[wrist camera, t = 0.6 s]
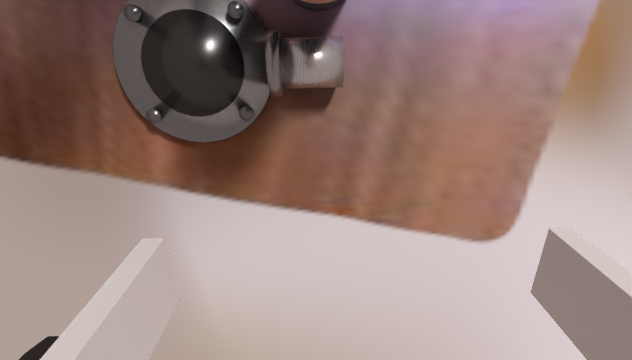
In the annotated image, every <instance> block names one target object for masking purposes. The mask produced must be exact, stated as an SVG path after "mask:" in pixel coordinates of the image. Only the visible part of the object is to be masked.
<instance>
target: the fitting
mask: <svg viewBox="0 0 632 360" xmlns="http://www.w3.org/2000/svg"><path fill="white" fill-rule="evenodd" d="M113 56H114V62H115V68H116V71H117V75H118V78H119V80H120V83H121V85H122V87H123V90H124V91H125V93H126V95H127V97H128V98H129V100H130V101H131V102H132V104H133V105H134V107H135V108H136V109H137V110H138V111H139V112H140V113H141V115H142V116H144V117H145V118H146V119H147V120H148V121H149V122H150V123H152V124H153V125H154V126H156V127H157V128H159V129H160V130H162V131H164V132H166V133H168V134H170V135H172V136H175V137H177V138H181V139H184V140H188V141H194V142H213V141H219V140H223V139H226V138H229V137H231V136H234V135H236V134H237V133H239V132H241V131H242V130H244V129H245V128H246V127H248V126H249V125H250V124H251V123H252V122H253V121H254V120H255V119H256V118H257V116H258V115H259V114H260V112H261V111H262V110H263V108H264V106H265V104H266V103H267V100H268V98H269V95H271V96H272V97H280V96H284V89H297V88H335V87H343V79H344V44H343V37H342V36H330V37H294V38H282V37H281V33H280V30H271V31H267V32H266V31H265V29H264V27H263V25H262V23H261V21H260V20H259V18H258V17H257V16H256V14H255V13H254V11H253V10H252V9H251V8H250V7H249V6H248V5H247V3H246V2H245V1H243V0H128V2H127V3H126V4H125V6H124V8H123V9H122V11H121V13H120V15H119V18H118V21H117V23H116V27H115V32H114V39H113Z"/></svg>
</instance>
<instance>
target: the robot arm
mask: <svg viewBox="0 0 632 360" xmlns="http://www.w3.org/2000/svg"><path fill="white" fill-rule="evenodd" d="M531 293H532V294H533V295H534V297H535V298H536V299H537V300H538V301H539V303H540V304H541V305H542V306H543V307H544V309H545V310H546V311H547V312H548V313H549V315H550V316H551V317H552V318H553V319H554V321H555V322H556V323H557V324H558V325H559V327H560V328H561V329H562V330H563V331H564V333H565V334H566V335H567V336H568V337H569V339H570V340H571V341H572V342H573V343H574V345H575V346H576V347H577V348H578V349H579V350H580V352H581V353H582V354H583V355H584V357H585V358H586V359H587V360H632V273H631V272H630V271H628V270H627V269H625V268H624V267H623V266H622V265H620V264H619V263H618V262H616V261H615V260H614V259H612V258H611V257H610V256H608V255H607V254H606V253H604V252H603V251H602V250H600V249H599V248H598V247H596V246H595V245H594V244H592V243H591V242H590V241H588V240H587V239H586V238H585V237H583V236H582V235H581V234H579V233H578V232H577V231H575V230H574V229H573V228H550V229H549V231H548V234H547V238H546V241H545V245H544V248H543V252H542V255H541V258H540V262H539V265H538V269H537V272H536V276H535V279H534V283H533V286H532V290H531ZM179 301H180V299H179V295H178V291H177V287H176V283H175V279H174V275H173V270H172V266H171V262H170V258H169V254H168V250H167V246H166V242H165V238H150V239H149V238H148V239H142V240H141V241H140V242H139V243H138V245H137V246H136V247H135V248H134V249H133V250H132V252H131V253H130V254H129V255H128V256H127V257H126V259H125V260H124V261H123V262H122V263H121V265H120V266H119V267H118V268H117V269H116V270H115V272H114V273H113V274H112V275H111V276H110V277H109V279H108V280H107V281H106V282H105V283H104V284H103V286H102V287H101V288H100V289H99V290H98V292H97V293H96V294H95V295H94V296H93V297H92V299H91V300H90V301H89V302H88V303H87V305H86V306H85V307H84V308H83V309H82V310H81V312H80V313H79V314H78V315H77V316H76V318H75V319H74V320H73V321H72V323H70V325H69V326H68V327H67V328H66V329H65V331H64V332H63V333H62V334H61V335H60V336H54V337H52V336H51V337H47V338H45V339H44V340H42V341H41V342H40V343H38V344H37V345H36V346H34V347H33V348H32V349H30V350H29V351H28V352H26V353H25V354H24V355H23V356H22V357H21V358H20V359H19V360H150V357H151V356H152V354H153V352H154V350H155V348H156V346H157V344H158V342H159V340H160V338H161V336H162V334H163V332H164V330H165V328H166V326H167V324H168V322H169V320H170V318H171V316H172V315H173V312H174V311H175V309H176V307H177V305H178V303H179Z"/></svg>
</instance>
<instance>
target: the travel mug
mask: <svg viewBox="0 0 632 360" xmlns="http://www.w3.org/2000/svg"><path fill="white" fill-rule="evenodd" d="M293 1H294V2H296V3H297V4H298V5H300V6H302V7H304V8H307V9H310V10H326V9H329V8H332V7H334V6H336V5H338V4H339V3H340V2H342V1H343V0H293Z"/></svg>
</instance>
